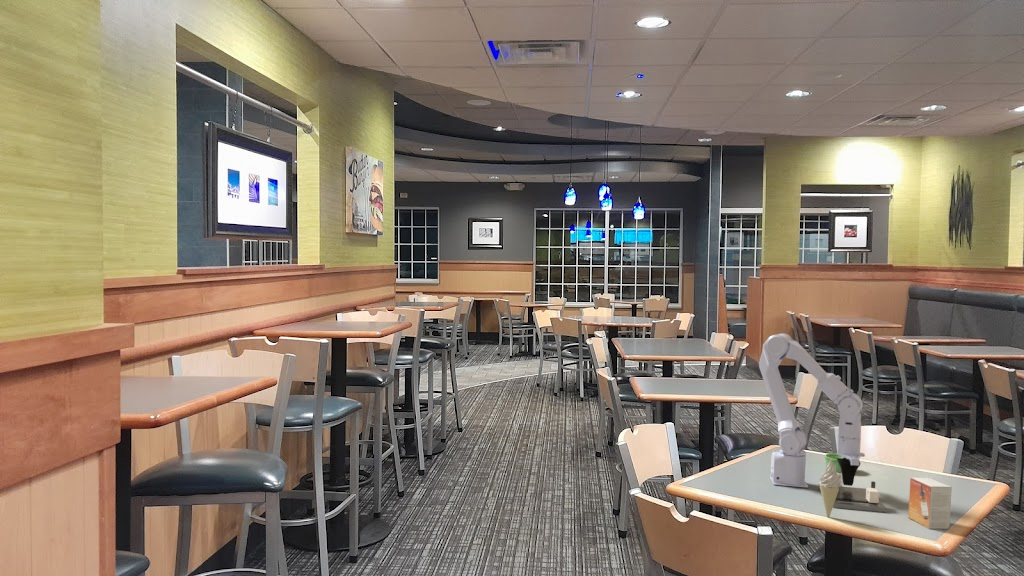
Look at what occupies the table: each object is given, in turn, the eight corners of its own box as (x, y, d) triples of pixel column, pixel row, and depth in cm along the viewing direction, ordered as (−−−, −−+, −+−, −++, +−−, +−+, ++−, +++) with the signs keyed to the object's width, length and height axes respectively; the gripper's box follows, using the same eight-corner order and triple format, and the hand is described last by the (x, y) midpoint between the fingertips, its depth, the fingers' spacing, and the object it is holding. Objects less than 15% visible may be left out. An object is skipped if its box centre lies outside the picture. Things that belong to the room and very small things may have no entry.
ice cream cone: (837, 521, 177) (840, 461, 177) (815, 517, 180) (818, 458, 180) (840, 516, 182) (843, 457, 181) (819, 512, 184) (821, 454, 184)
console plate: (832, 507, 189) (833, 486, 189) (818, 488, 207) (819, 468, 207) (886, 512, 186) (887, 490, 186) (867, 492, 204) (868, 473, 204)
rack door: (833, 491, 198) (834, 479, 198) (828, 490, 199) (829, 478, 199) (845, 484, 206) (845, 473, 206) (840, 483, 207) (840, 472, 207)
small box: (907, 518, 182) (909, 477, 182) (928, 518, 183) (930, 477, 183) (928, 529, 174) (930, 486, 174) (950, 529, 175) (952, 486, 175)
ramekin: (860, 475, 224) (860, 460, 224) (831, 473, 224) (832, 459, 224) (847, 467, 233) (847, 453, 233) (819, 466, 233) (820, 452, 233)
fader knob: (869, 502, 189) (869, 491, 189) (865, 498, 193) (866, 487, 193) (878, 503, 189) (879, 492, 189) (874, 499, 192) (875, 488, 192)
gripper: (871, 443, 195) (870, 493, 195) (858, 433, 209) (856, 479, 209) (843, 441, 196) (842, 491, 197) (832, 431, 211) (830, 477, 211)
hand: (847, 485), depth 203 cm, fingers closed, pressing on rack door
